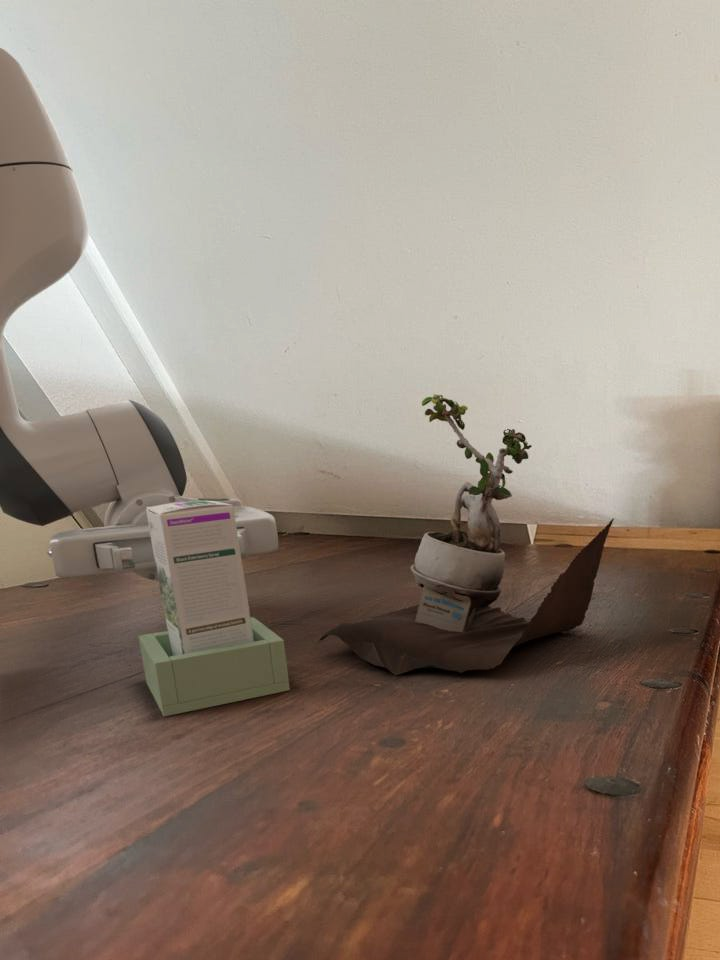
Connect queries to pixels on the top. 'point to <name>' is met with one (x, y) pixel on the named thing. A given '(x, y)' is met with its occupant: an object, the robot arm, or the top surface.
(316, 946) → the top surface
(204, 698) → the socket
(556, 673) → the top surface
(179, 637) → the syrup box
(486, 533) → the potted plant
